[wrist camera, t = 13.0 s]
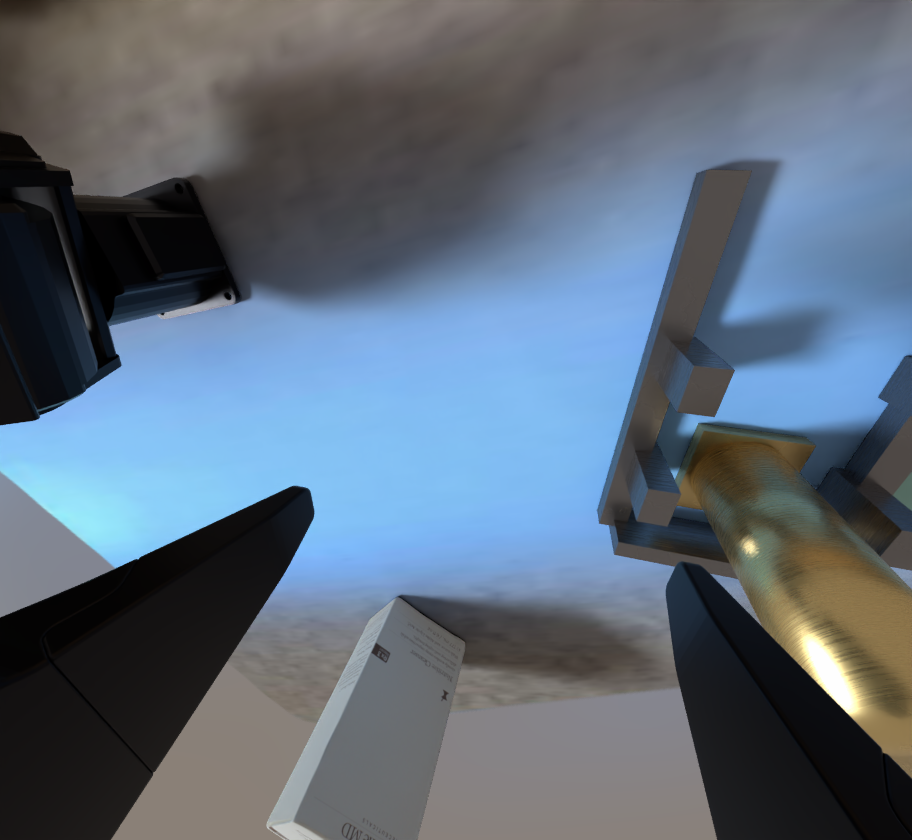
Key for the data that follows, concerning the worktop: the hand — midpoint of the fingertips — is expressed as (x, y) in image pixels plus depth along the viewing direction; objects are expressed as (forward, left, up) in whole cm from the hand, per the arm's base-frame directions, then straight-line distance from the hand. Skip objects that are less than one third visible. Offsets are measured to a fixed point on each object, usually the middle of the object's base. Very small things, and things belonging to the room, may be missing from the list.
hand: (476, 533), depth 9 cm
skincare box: (-13, -25, -13) cm, 31 cm away
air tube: (+11, -8, -13) cm, 18 cm away
